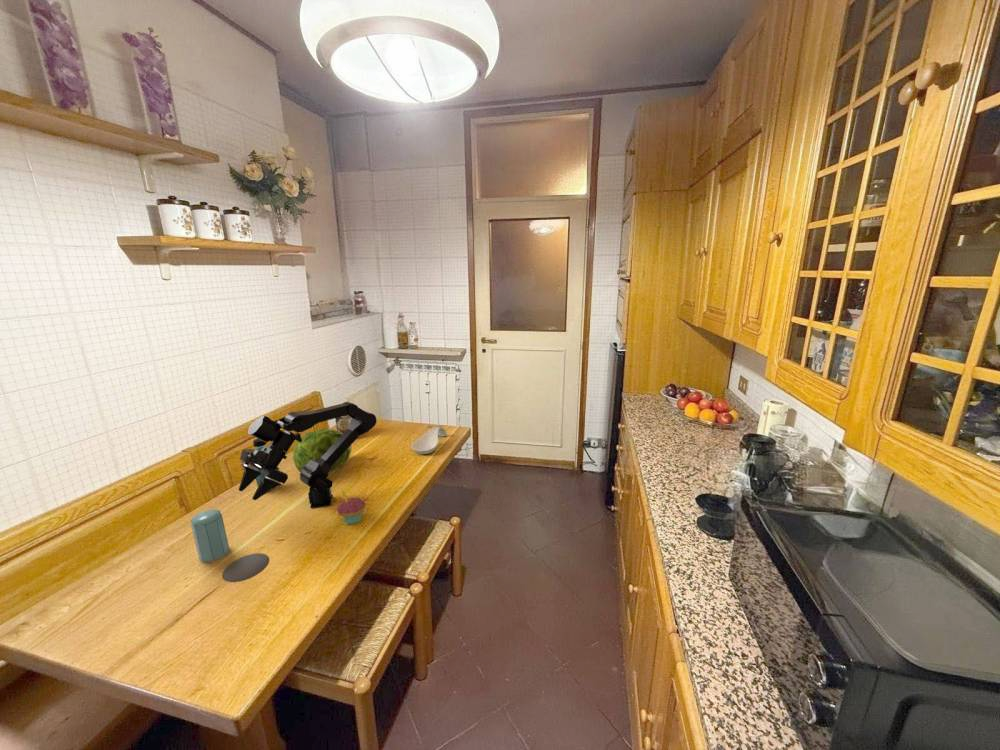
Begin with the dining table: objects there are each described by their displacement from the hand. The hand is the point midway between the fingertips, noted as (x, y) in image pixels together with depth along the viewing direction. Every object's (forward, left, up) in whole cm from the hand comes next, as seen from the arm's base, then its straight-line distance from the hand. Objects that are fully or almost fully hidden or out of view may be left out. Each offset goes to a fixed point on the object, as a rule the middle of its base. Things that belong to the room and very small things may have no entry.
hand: (246, 495), depth 120 cm
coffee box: (-19, -74, -14) cm, 78 cm away
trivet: (-3, +16, -14) cm, 21 cm away
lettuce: (-14, -41, -14) cm, 45 cm away
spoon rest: (-58, -51, -14) cm, 79 cm away
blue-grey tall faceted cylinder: (+8, +8, -14) cm, 18 cm away
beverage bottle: (+5, -30, -14) cm, 33 cm away
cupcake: (-29, 0, -14) cm, 32 cm away
